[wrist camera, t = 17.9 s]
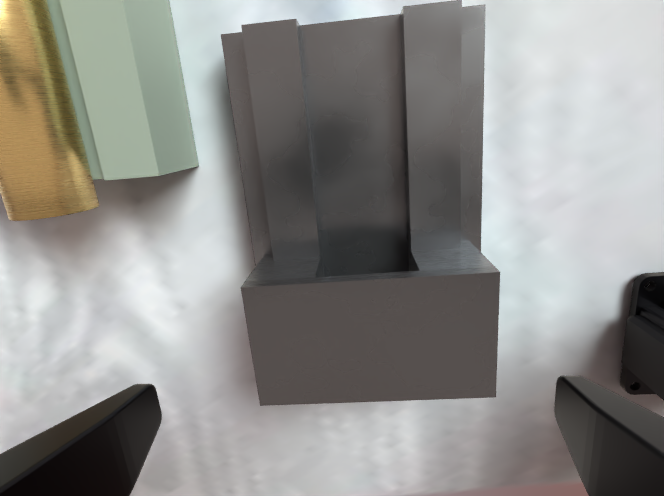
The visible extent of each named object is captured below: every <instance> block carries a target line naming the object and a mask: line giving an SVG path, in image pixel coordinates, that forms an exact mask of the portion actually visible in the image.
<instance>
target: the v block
mask: <svg viewBox="0 0 664 496" xmlns="http://www.w3.org/2000/svg"><path fill="white" fill-rule="evenodd" d="M47 3H48V7H49V11H50V15H51V19H52V23H53V27H54V31H55V35H56V39H57V42H58V46H59V50H60V54H61V58H62V62H63V66H64V70H65V74H66V78H67V81H68V85H69V89H70V93H71V97H72V101H73V105H74V109H75V113H76V117H77V120H78V124H79V128H80V132H81V136H82V140H83V144H84V148H85V152H86V156H87V159H88V163H89V167H90V171H91V175H92V179H93V180H94V179H104V181H105V180H116V179H128V178H140V177H152V176H161V175H165V174H169V173H173V172H177V171H181V170H185V169H189V168H193V167H197V166H199V164H198V159H197V153H196V147H195V142H194V136H193V131H192V125H191V120H190V114H189V108H188V103H187V97H186V92H185V86H184V81H183V75H182V69H181V64H180V58H179V53H178V47H177V42H176V36H175V30H174V25H173V19H172V14H171V8H170V3H169V0H47Z"/></svg>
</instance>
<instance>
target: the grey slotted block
mask: <svg viewBox="0 0 664 496" xmlns="http://www.w3.org/2000/svg"><path fill="white" fill-rule="evenodd" d="M241 26H242V32H239V33H231V34H222V35H221V39H222V46H223V52H224V59H225V66H226V72H227V79H228V86H229V92H230V99H231V106H232V112H233V119H234V126H235V132H236V139H237V145H238V152H239V159H240V165H241V172H242V179H243V185H244V192H245V199H246V205H247V212H248V219H249V225H250V232H251V239H252V245H253V252H254V259H255V265H256V267H255V269H254V270H253V272H252V273H251V274H250V276H249V277H248V278H247V280H246V281H245V283H244V284H243V285H242V287H241V291H242V297H243V303H244V309H245V315H246V322H247V328H248V334H249V340H250V346H251V352H252V358H253V364H254V370H255V376H256V383H257V389H258V395H259V401H260V406H262V405H290V404H318V403H347V402H375V401H403V400H431V399H459V398H487V397H496V374H497V345H498V315H499V286H500V272H499V271H498V269H497V268H496V267H495V266H494V265H493V264H492V263H491V262H490V261H489V260H488V259H487V258H486V257H485V256H484V255H483V254H482V253H481V208H482V156H483V103H484V50H485V5H477V6H469V7H462V0H456V1H447V2H438V3H430V4H421V5H412V6H404V7H403V9H402V11H401V14H398V15H389V16H380V17H372V18H363V19H354V20H345V21H336V22H328V23H319V24H310V25H301V26H300V25H299V23H298V21H297V20H296V19H291V20H282V21H273V22H264V23H256V24H247V25H241Z"/></svg>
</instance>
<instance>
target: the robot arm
mask: <svg viewBox="0 0 664 496" xmlns="http://www.w3.org/2000/svg"><path fill="white" fill-rule="evenodd" d="M649 281H650V284H649V286H648V287H646V288H645V287H644V286H645V284H646V283H647V282H649ZM633 382H635V383H634V384H633V385H631V384H632V383H633ZM620 385H621V386H622V388H623V389H624V390H625V391H626V392H627V393H629V394H634V395H636V394H657V395H658V396H659V397H660V398H662V399H663V400H664V272H659V273H645V274H641V275H639V276H638V277H637V278H636V279H635V281H634V283H633V291H632V298H631V305H630V313H629V318H628V320H627V325H626V332H625V339H624V347H623V354H622V371H621V379H620ZM630 385H631V386H630ZM554 412H555V418H556V421H557V423H558V426H559V428H560V430H561V433H562V435H563V438H564V440H565V442H566V445H567V447H568V449H569V452H570V454H571V456H572V459H573V461H574V463H575V466H576V468H577V470H578V473H579V475H580V478H581V480H582V482H583V484H584V486H585V489H586V491H587V493H588V495H589V496H664V417H662V416H660V415H658V414H656V413H654V412H652V411H650V410H648V409H646V408H644V407H642V406H640V405H638V404H636V403H634V402H632V401H630V400H628V399H626V398H624V397H622V396H620V395H618V394H616V393H614V392H612V391H610V390H608V389H606V388H604V387H602V386H600V385H598V384H596V383H594V382H592V381H590V380H588V379H586V378H584V377H582V376H578V375H572V376H560V377H559V378H558V380H557V383H556V395H555V407H554ZM161 419H162V414H161V409H160V404H159V400H158V396H157V392H156V388H155V387H154V386H153V385H152V384H135V385H133V386H131V387H129V388H127V389H125V390H123V391H121V392H119V393H117V394H115V395H113V396H111V397H110V398H108V399H106V400H104V401H102V402H100V403H98V404H96V405H94V406H92V407H90V408H88V409H86V410H84V411H82V412H81V413H79V414H77V415H75V416H73V417H71V418H69V419H67V420H65V421H63V422H61V423H59V424H57V425H55V426H54V427H52V428H50V429H48V430H46V431H44V432H42V433H40V434H38V435H36V436H34V437H32V438H30V439H28V440H26V441H25V442H23V443H21V444H19V445H17V446H15V447H13V448H11V449H9V450H7V451H5V452H3V453H1V454H0V496H130V494H131V492H132V490H133V488H134V485H135V483H136V481H137V479H138V477H139V474H140V472H141V469H142V467H143V465H144V462H145V460H146V457H147V455H148V453H149V450H150V448H151V446H152V443H153V441H154V438H155V436H156V434H157V431H158V429H159V427H160V424H161Z"/></svg>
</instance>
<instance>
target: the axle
mask: <svg viewBox="0 0 664 496" xmlns="http://www.w3.org/2000/svg"><path fill="white" fill-rule="evenodd" d="M0 193H1V196H2V199H3V203H4V206H5V209H6V212H7V215H8V218H9V220H12V221H21V220H34V219H42V218H50V217H56V216H62V215H68V214H73V213H78V212H82V211H86V210H90V209H93V208H96V207H98V206H99V202H98V198H97V195H96V191H95V187H94V183H93V179H92V175H91V171H90V167H89V163H88V159H87V156H86V152H85V148H84V144H83V140H82V136H81V132H80V128H79V124H78V120H77V117H76V113H75V109H74V105H73V101H72V97H71V93H70V89H69V85H68V81H67V78H66V74H65V70H64V66H63V62H62V58H61V54H60V50H59V46H58V42H57V39H56V35H55V31H54V27H53V23H52V19H51V15H50V11H49V7H48V3H47V0H0Z"/></svg>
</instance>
